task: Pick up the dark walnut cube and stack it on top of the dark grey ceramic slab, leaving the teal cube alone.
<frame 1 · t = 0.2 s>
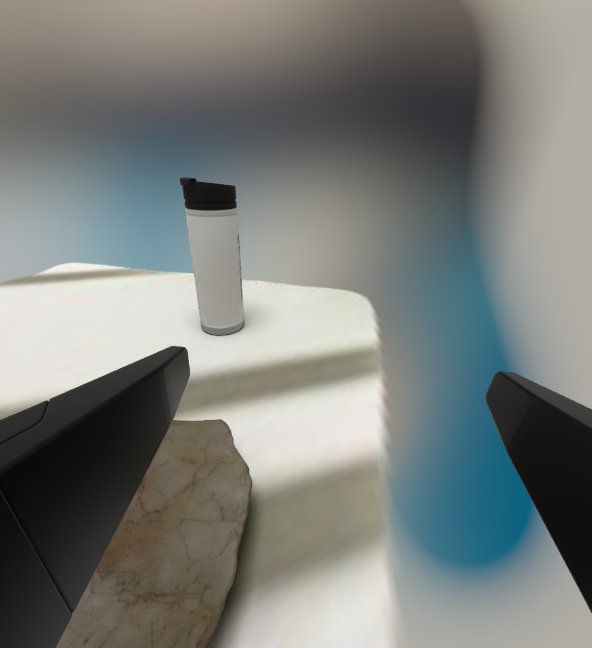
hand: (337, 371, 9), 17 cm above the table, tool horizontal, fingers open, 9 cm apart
marble piece: (123, 543, 20), on the table
travel mug: (222, 326, 46), on the table
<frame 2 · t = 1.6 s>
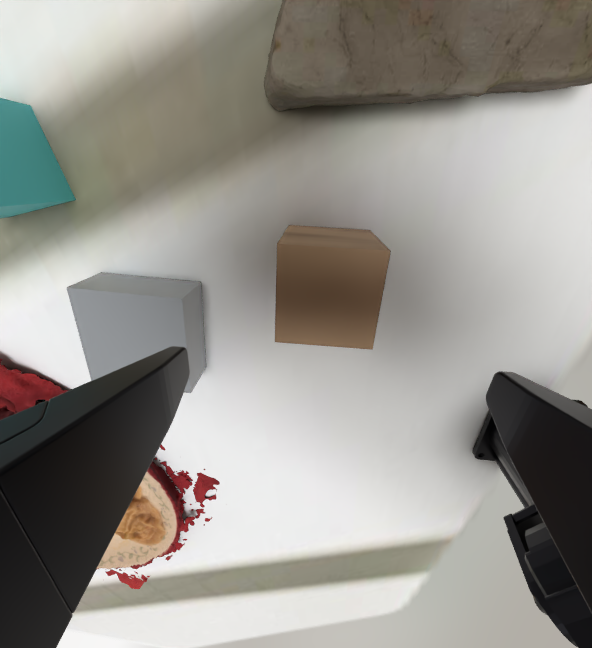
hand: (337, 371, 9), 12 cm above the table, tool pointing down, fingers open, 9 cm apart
grey slab: (158, 321, 23), on the table
plate with food: (90, 487, 33), on the table
teal cube: (19, 165, 18), on the table
walnut cube: (325, 267, 20), on the table
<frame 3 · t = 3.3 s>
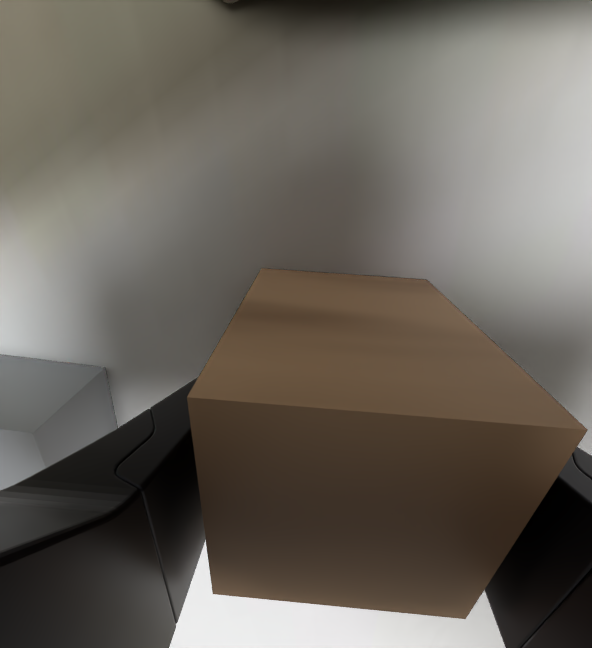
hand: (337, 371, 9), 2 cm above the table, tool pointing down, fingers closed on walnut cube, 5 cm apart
grey slab: (42, 420, 13), on the table
walnut cube: (334, 345, 10), on the table, touching gripper
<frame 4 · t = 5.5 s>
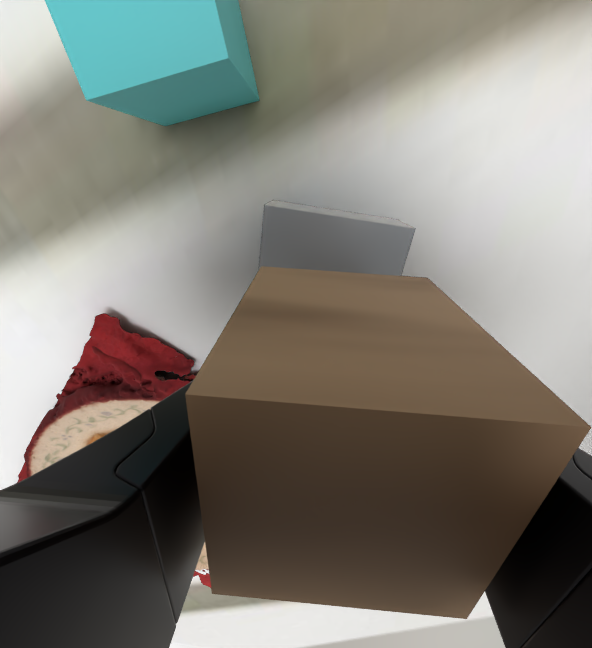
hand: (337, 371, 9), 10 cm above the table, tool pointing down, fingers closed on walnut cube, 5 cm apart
grey slab: (324, 269, 19), on the table
plate with food: (185, 477, 29), on the table
teal cube: (194, 50, 14), on the table
walnut cube: (334, 343, 10), point 9 cm above the table, touching gripper
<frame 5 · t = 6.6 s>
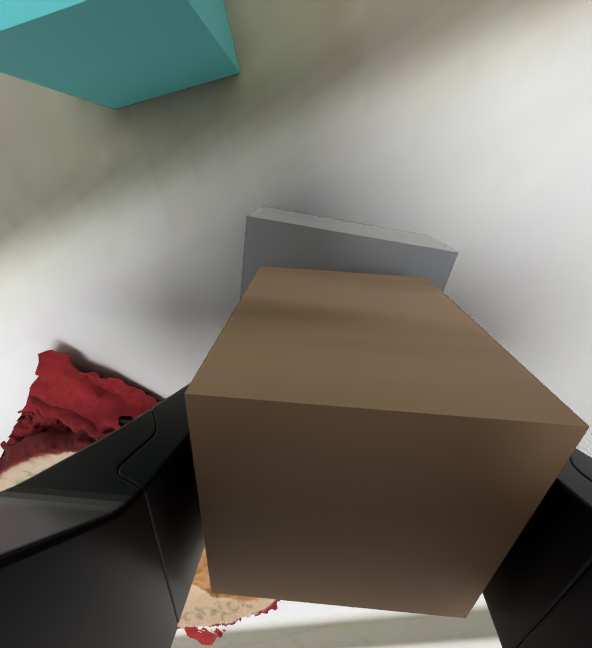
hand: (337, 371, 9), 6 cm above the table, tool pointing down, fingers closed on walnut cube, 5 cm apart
grey slab: (327, 295, 15), on the table
plate with food: (165, 526, 25), on the table
teal cube: (147, 1, 10), on the table
walnut cube: (334, 343, 10), point 4 cm above the table, touching gripper
when the fingers open (6 cm above the table, at t = 6.8 s): walnut cube drops 1 cm, resting on grey slab.
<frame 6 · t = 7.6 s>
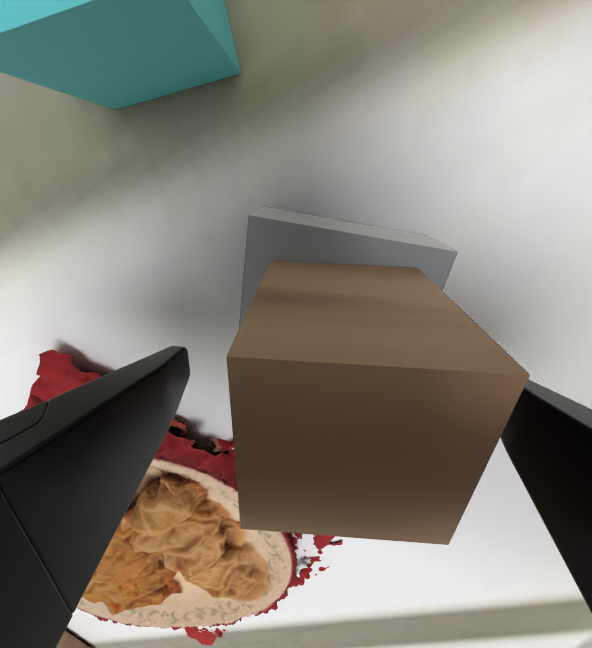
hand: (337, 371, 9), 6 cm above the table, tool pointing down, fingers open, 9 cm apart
block: (38, 630, 34), on the table
grey slab: (328, 294, 15), on the table, touching walnut cube
plate with food: (165, 526, 25), on the table
teal cube: (149, 2, 10), on the table
walnut cube: (336, 328, 12), point 3 cm above the table, touching grey slab
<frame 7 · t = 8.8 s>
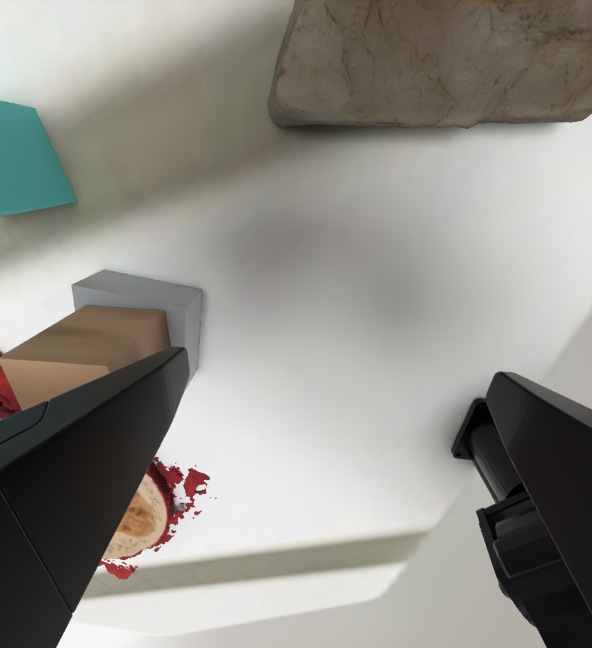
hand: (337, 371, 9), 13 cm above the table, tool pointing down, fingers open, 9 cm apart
grey slab: (156, 321, 23), on the table
plate with food: (80, 480, 33), on the table
teal cube: (21, 166, 19), on the table
walnut cube: (133, 342, 20), point 3 cm above the table
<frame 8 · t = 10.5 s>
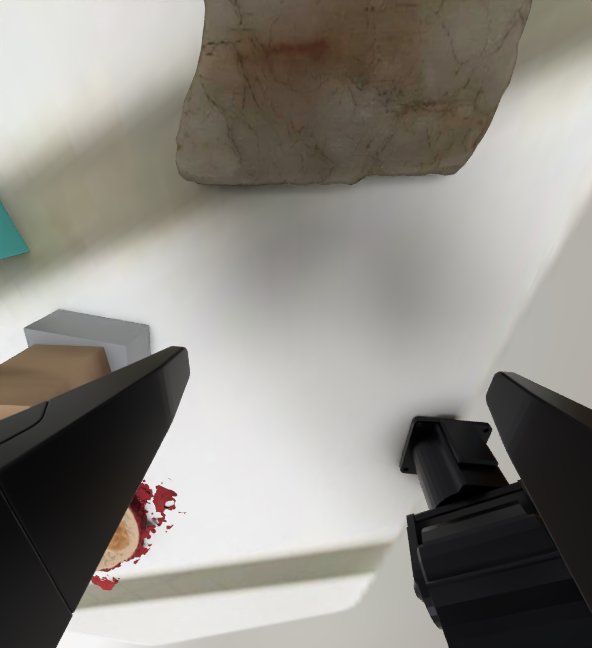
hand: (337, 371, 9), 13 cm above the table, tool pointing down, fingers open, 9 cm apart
grey slab: (111, 352, 25), on the table, touching walnut cube
plate with food: (60, 497, 35), on the table
marble piece: (328, 29, 16), on the table
walnut cube: (79, 375, 22), point 3 cm above the table, touching grey slab
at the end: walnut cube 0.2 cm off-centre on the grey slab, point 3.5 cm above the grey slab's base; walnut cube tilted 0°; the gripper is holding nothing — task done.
